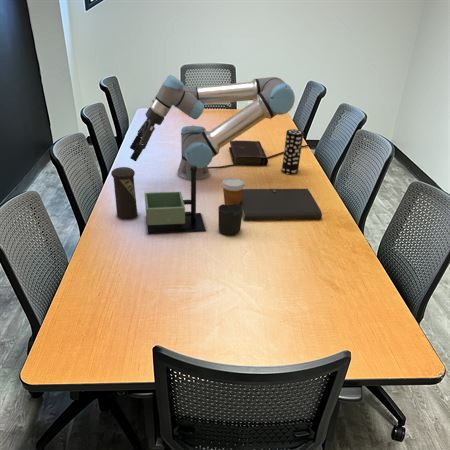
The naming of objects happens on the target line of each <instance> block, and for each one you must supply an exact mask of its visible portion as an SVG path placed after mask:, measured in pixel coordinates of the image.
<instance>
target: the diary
mask: <svg viewBox="0 0 450 450" xmlns="http://www.w3.org/2000/svg"><path fill="white" fill-rule="evenodd" d="M229 144H230V146H229V147H228V149H229V153H230V157H231V160H232V163H233V164H239V165H235V166H238V167H239V166H240V167H241V166H242V167H243V166H246V167H249V166H251V167H253V166H255V167H259V166H261V167H262V166H263V167H266V166H267V165H268V163H269V158H267V157H268V156H267V155H266V152H265V150H264V148H263V146H262V144H261V141H260V140H232V141H230V142H229Z"/></svg>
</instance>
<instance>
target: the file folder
mask: <svg viewBox="0 0 450 450" xmlns="http://www.w3.org/2000/svg"><path fill="white" fill-rule="evenodd" d="M240 206H241V207H242V208H243V212H242V220H244V221H265V220H271V221H273V220H322V217H323V212H322V210H321V207H320V206H319V204H318V203H317V201H316V199H315V198H314V196H313V194H312V193H311V192H310V190H309V188H243V192H242V197H241V201H240Z"/></svg>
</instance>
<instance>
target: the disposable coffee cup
mask: <svg viewBox="0 0 450 450" xmlns="http://www.w3.org/2000/svg"><path fill="white" fill-rule="evenodd" d="M221 186H222V190H223V201H224V202H223V204H224V205H232V204H238V205H240V201H241V197H242V192H243V189H245V183H244V181H243V180H242V179H241V178H237V177H228V178H225V179H223V181H222V183H221Z"/></svg>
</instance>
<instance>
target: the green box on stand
mask: <svg viewBox="0 0 450 450" xmlns="http://www.w3.org/2000/svg"><path fill="white" fill-rule="evenodd" d="M190 171H191V180H190V199H184V197H183V195H182V191H161V192H160V191H159V192H157V191H155V192H154V191H153V192H144V205H145V219H146V228H147V235H165V234H182V233H184V234H185V233H201V232H206V231H207V229H206V226H205V223H204V220H203V217H202V213H201V212H197V180H196V171H197V167H196V166H195V165H192V166H191V167H190ZM186 205H187V206H188V205H189V206H190V211H186Z"/></svg>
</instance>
